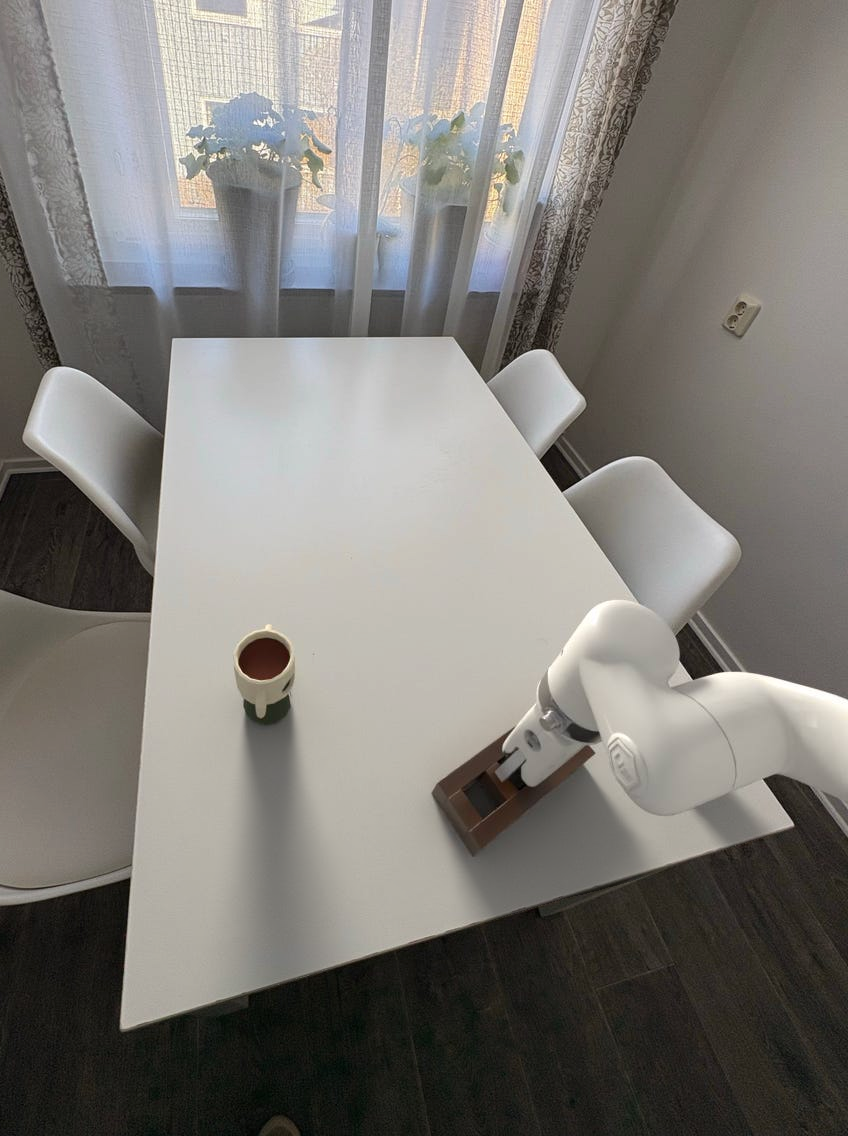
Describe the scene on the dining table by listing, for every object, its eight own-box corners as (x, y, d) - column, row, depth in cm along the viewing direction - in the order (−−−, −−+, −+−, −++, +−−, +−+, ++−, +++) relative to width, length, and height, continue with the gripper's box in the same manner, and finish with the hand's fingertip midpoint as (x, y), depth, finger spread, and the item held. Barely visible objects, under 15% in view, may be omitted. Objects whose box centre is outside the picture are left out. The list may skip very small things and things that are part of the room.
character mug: (291, 745, 67) (291, 701, 58) (234, 745, 66) (225, 700, 57) (297, 665, 75) (298, 615, 66) (246, 664, 74) (239, 613, 65)
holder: (583, 764, 69) (596, 753, 66) (472, 857, 60) (481, 849, 58) (540, 712, 73) (550, 700, 71) (431, 792, 65) (437, 782, 62)
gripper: (550, 784, 45) (493, 838, 58) (663, 690, 52) (590, 757, 65) (491, 708, 49) (450, 775, 62) (603, 631, 56) (545, 705, 69)
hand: (522, 765), depth 63 cm, fingers closed on peg, 3 cm apart
